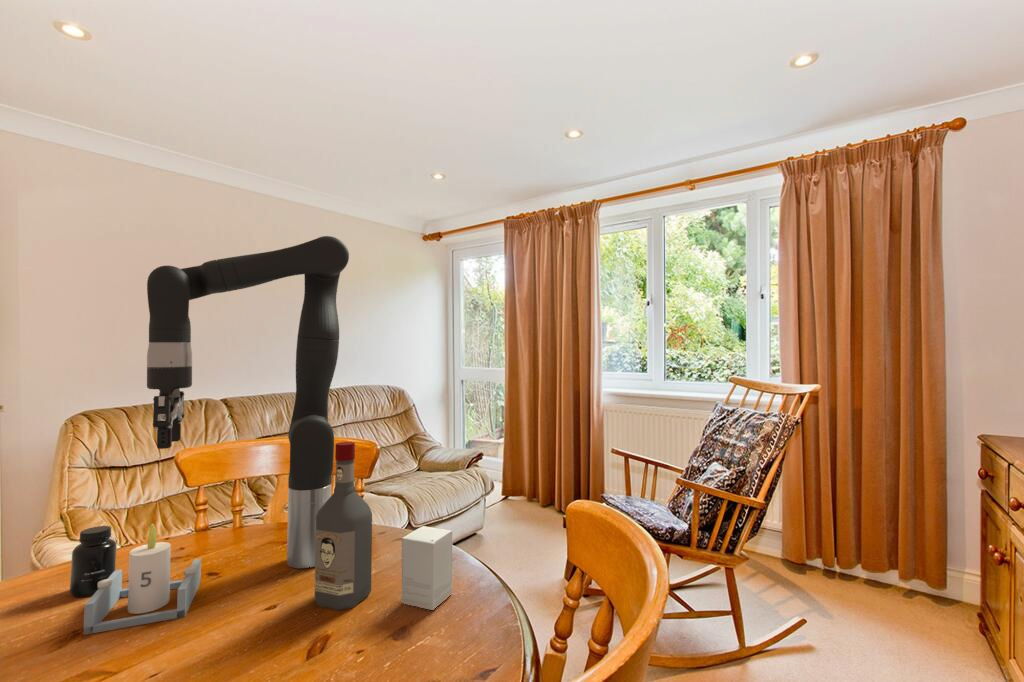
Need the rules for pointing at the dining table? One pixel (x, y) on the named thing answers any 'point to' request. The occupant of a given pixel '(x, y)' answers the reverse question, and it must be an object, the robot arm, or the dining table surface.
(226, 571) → the dining table surface
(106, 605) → the holder
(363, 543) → the liquor
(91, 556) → the supplement bottle
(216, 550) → the dining table surface
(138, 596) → the candle
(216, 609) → the dining table surface
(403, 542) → the supplement box
